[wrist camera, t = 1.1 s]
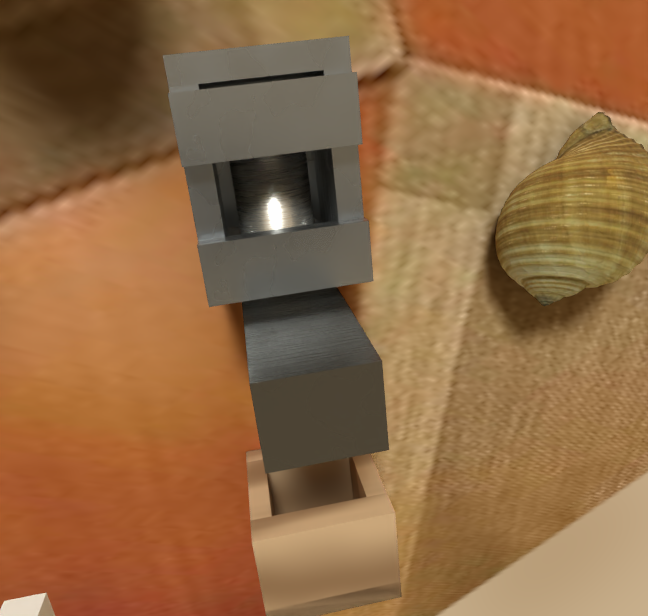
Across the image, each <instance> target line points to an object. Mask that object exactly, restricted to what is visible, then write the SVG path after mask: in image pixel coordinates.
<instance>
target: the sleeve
mask: <svg viewBox="0 0 648 616" xmlns="http://www.w3.org/2000/svg"><path fill="white" fill-rule="evenodd" d="M163 60H164V65H165V70H166V76H167V81H168V86H169V91H170V93H168V97H169V102H170V107H171V112H172V117H173V122H174V128H175V133H176V138H177V143H178V148H179V153H180V159H181V164H182V167H184V169H185V174H186V180H187V185H188V190H189V195H190V200H191V206H192V211H193V216H194V221H195V227H196V232H197V237H198V244H197V247H198V252H199V257H200V262H201V267H202V272H203V278H204V283H205V288H206V293H207V298H208V303H209V307H212V306H218V305H224V304H231V303H237V302H244V301H250V300H256V299H263V298H269V297H275V296H282V295H288V294H294V293H301V292H307V291H314V290H320V289H326V288H333V287H339V286H345V285H352V284H358V283H364V282H371V281H373V270H372V257H371V245H370V232H369V221H368V220H367V219H366V218H365V217H364V214H363V202H362V190H361V178H360V166H359V154H358V145H359V144H362V132H361V120H360V107H359V95H358V82H357V72H352V70H351V58H350V45H349V36H344V37H334V38H324V39H315V40H305V41H296V42H286V43H277V44H267V45H258V46H248V47H239V48H229V49H219V50H210V51H200V52H191V53H181V54H172V55H163ZM304 151H306V158H307V167H308V175H309V184H310V193H311V201H312V210H313V219H314V224H310V225H303V226H296V227H289V228H282V229H275V230H268V231H261V232H254V233H247V234H241V231H240V225H239V218H238V212H237V206H236V200H235V194H234V188H233V182H232V176H231V169H230V163H229V161H234V160H242V159H250V158H257V157H265V156H273V155H281V154H289V153H296V152H304Z"/></svg>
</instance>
